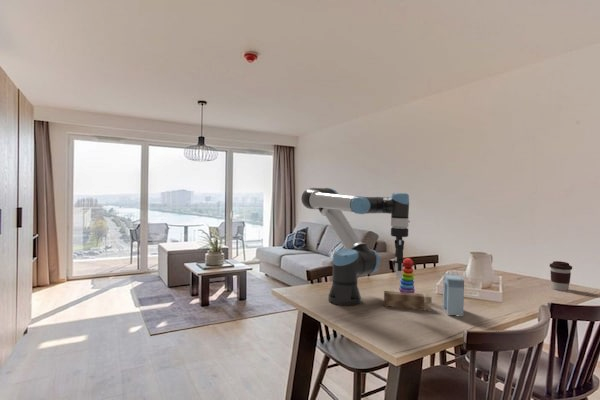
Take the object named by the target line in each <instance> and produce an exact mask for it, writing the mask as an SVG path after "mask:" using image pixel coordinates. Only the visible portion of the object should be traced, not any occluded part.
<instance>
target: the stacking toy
mask: <svg viewBox="0 0 600 400" xmlns="http://www.w3.org/2000/svg"><path fill="white" fill-rule="evenodd" d="M413 267H414V261H413V260H412V258H409V257H406V258H403V279H401V278H400V283H399V288H398V292H404V293H415V291H416V290H415V285H414V284H415V281H414V280H415V277H414V272H413V271H414V269H413Z"/></svg>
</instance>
